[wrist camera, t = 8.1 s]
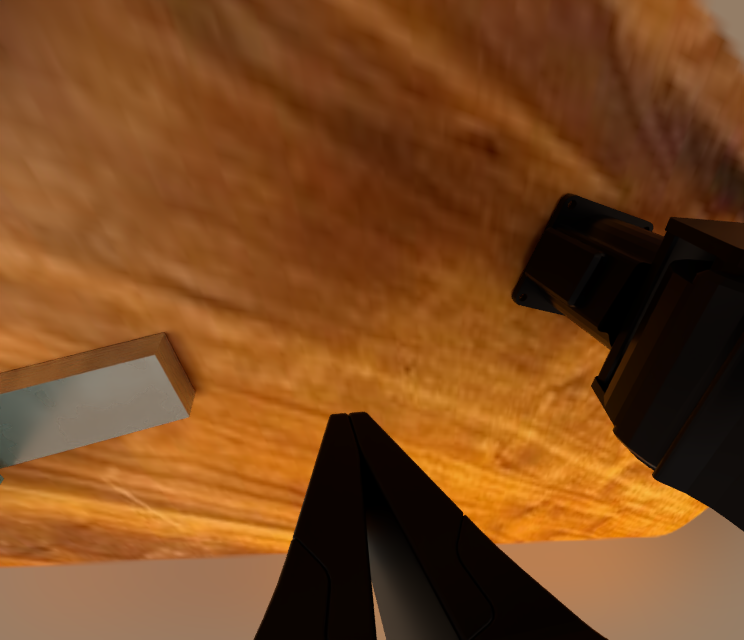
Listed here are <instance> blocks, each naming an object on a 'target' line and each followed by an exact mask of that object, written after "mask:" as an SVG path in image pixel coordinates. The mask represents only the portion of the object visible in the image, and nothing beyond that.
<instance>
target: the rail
mask: <svg viewBox="0 0 744 640" xmlns="http://www.w3.org/2000/svg"><path fill="white" fill-rule="evenodd" d="M194 396H195V390H194V389H193V387H192V385H191V383H190V381H189V379H188V377H187V375H186V373H185V371H184V369H183V367H182V366H181V364H180V362H179V360H178V358H177V356H176V354H175V352H174V350H173V348H172V346H171V344H170V342H169V341H168V339H167V337H166V335H165V333H160V334H156V335H152V336H148V337H144V338H140V339H136V340H132V341H128V342H124V343H120V344H116V345H112V346H108V347H104V348H100V349H96V350H92V351H88V352H84V353H80V354H76V355H72V356H68V357H64V358H60V359H56V360H52V361H48V362H44V363H40V364H36V365H32V366H28V367H24V368H20V369H16V370H12V371H8V372H4V373H0V469H1V468H4V467H8V466H12V465H15V464H19V463H23V462H26V461H30V460H34V459H37V458H41V457H45V456H48V455H52V454H56V453H59V452H63V451H67V450H70V449H74V448H78V447H81V446H85V445H89V444H92V443H96V442H100V441H103V440H107V439H111V438H114V437H118V436H121V435H125V434H129V433H132V432H136V431H140V430H143V429H147V428H151V427H154V426H158V425H162V424H165V423H169V422H173V421H176V420H180V419H184V418H187V417H190V413H191V408H192V404H193V400H194Z"/></svg>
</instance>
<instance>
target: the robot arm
mask: <svg viewBox="0 0 744 640" xmlns="http://www.w3.org/2000/svg"><path fill="white" fill-rule="evenodd" d="M570 201H572V203H571V205H570V206H569V207H568V203H569V202H570ZM643 228H644V229H643ZM665 230H666V231H667V232H666V234H665V236H661V235H659V234H656V233H653V232H652V231H653V224H652V223H651V222H648V221H645V220H642V219H640V218H637V217H634V216H631V215H629V214H626V213H623V212H621V211H618V210H615V209H612V208H610V207H607V206H604V205H601V204H599V203H596V202H593V201H591V200H588V199H585V198H582V197H580V196H577V195H574V194H566V195H565V196H563V197H562V199H561V200H560V202H559V204H558V206H557V208H556V209H555V211H554V213H553V215H552V217H551V219H550V221H549V223H548V225H547V227H546V229H545V231H544V233H543V235H542V237H541V239H540V241H539V243H538V245H537V247H536V249H535V251H534V252H533V254H532V256H531V258H530V260H529V262H528V264H527V266H526V268H525V270H524V272H523V274H522V276H521V278H520V280H519V282H518V284H517V286H516V288H515V290H514V292H513V294H512V299H513V301H514V302H515V303H517V304H518V305H521V306H526V307H530V308H534V309H539V310H543V311H547V312H552V313H556V314H560V315H565V316H567V317H568V318H569V319H570V320H572V321H573V322H574V323H576V324H577V325H578V326H580V327H581V328H582V329H584V330H585V331H586V332H588V333H589V334H590V335H591V336H593V337H594V338H595V339H597V340H598V341H599V342H601V343H602V344H603V345H605V346H606V347H607V348H609V349H610V352H609V354H608V356H607V358H606V360H605V362H604V365H603V367H602V369H601V371H600V373H599V375H598V376H596V377H595V379H594V381H593V383H592V385H591V387H592V389H593V390H594V392H595V394H596V395H597V397H598V399H599V401H600V402H601V404H602V406H603V407H604V409H605V411H606V413H607V414H608V416H609V418H610V420H611V421H612V423H613V425H614V428H613V432H614V434H615V436H616V437H617V438H618V439H619V440H620V441H621V442H622V443H623V444H624V445H625V446H626V447H627V448H628V449H629V450H630V452H631V453H632V454H634V455H635V457H636V458H637V459H638V460H640V461H641V462H643V463H644V464H645V465H646V466H648V467H649V468H651V469H652V470H654V472H653V474H652V476H653V478H654V479H655V480H657V481H659V482H661V483H663V484H665V485H668V486H670V487H672V488H675V489H677V490H679V491H682V492H684V493H686V494H688V495H689V496H691V497H693V498H695V499H696V500H698V501H700V502H701V503H703V504H705V505H707V506H708V507H710V508H712V509H714V510H715V511H716V512H718V513H719V514H720V515H722V516H723V517H725V518H726V519H728V520H729V521H730V522H732V523H733V524H734V525H736V526H737V527H738V528H740V529H741V530H743V531H744V223H738V222H726V221H714V220H702V219H690V218H677V217H670V219H669V222H668V224H667V226H666V228H665ZM522 294H523V296H522V297H521V298H520V296H521V295H522ZM371 580H372V581H371ZM372 584H373V588H374V592H375V596H376V600H377V604H378V608H379V612H380V616H381V620H382V624H383V628H384V632H385V636H386V640H608V639H607V638H605V637H603V636H602V635H601V634H599V633H598V632H596V631H595V630H594V629H592V628H591V627H590V626H588V625H587V624H586V623H585V622H584V621H582V620H581V619H580V618H579V617H578V616H576V615H575V614H574V613H573V612H572V611H570V610H569V609H568V608H567V607H566V606H565V605H564V604H562V603H561V602H560V601H559V600H558V599H557V598H555V597H554V596H553V595H552V594H551V593H550V592H548V591H547V590H546V589H545V588H544V587H542V586H541V585H540V584H539V583H538V582H537V581H536V580H534V579H533V578H532V577H531V576H530V575H529V574H527V573H526V572H525V571H524V570H523V569H521V568H520V567H519V566H518V565H517V564H516V563H515V562H514V561H513V560H512V559H510V558H509V557H508V556H507V555H506V554H505V553H504V552H503V551H502V550H500V549H499V548H498V547H497V546H496V545H495V544H494V543H493V542H492V541H491V540H490V539H489V538H488V537H487V536H486V535H485V534H484V533H483V532H482V531H481V530H480V529H479V528H478V527H477V526H476V525H475V524H474V523H473V522H472V521H471V520H470V519H469V518H468V517H467V516H466V515H464V516H463V512H462V511H461V510H460V509H459V508H458V507H457V506H456V504H455V503H454V502H453V501H452V500H451V499H450V498H449V497H448V496H447V495H446V494H445V493H444V492H443V491H442V490H441V489H440V488H439V487H438V486H437V485H436V484H435V483H434V482H433V481H432V480H431V479H430V478H429V477H428V475H427V474H426V473H425V472H424V471H423V470H422V469H421V468H420V467H419V466H418V465H417V464H416V463H415V462H414V461H413V460H412V459H411V458H410V457H409V456H408V455H407V454H406V453H405V452H404V451H403V450H402V449H401V448H400V447H399V445H398V444H397V443H396V442H395V441H394V440H393V439H392V438H391V437H390V436H389V435H388V434H387V433H386V432H385V431H384V430H383V429H382V428H381V427H380V426H379V425H378V424H377V423H376V422H375V421H374V420H373V419H372V418H371V417H370V415H369V414H368V413H366V412H354V413H350V414H349V415H348V414H346V413H340V414H331V415H330V417H329V420H328V423H327V426H326V430H325V433H324V436H323V439H322V443H321V446H320V449H319V453H318V456H317V459H316V462H315V466H314V469H313V472H312V476H311V479H310V482H309V485H308V489H307V492H306V495H305V499H304V502H303V505H302V508H301V512H300V515H299V518H298V522H297V525H296V528H295V531H294V535H293V540H292V541H291V544H290V547H289V550H288V554H287V557H286V560H285V563H284V566H283V569H282V572H281V575H280V577H279V581H278V583H277V586H276V588H275V591H274V593H273V596H272V598H271V601H270V603H269V605H268V608H267V610H266V613H265V615H264V618H263V620H262V622H261V624H260V627H259V629H258V631H257V633H256V635H255V638H254V640H377V637H376V626H375V615H374V603H373V592H372Z"/></svg>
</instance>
